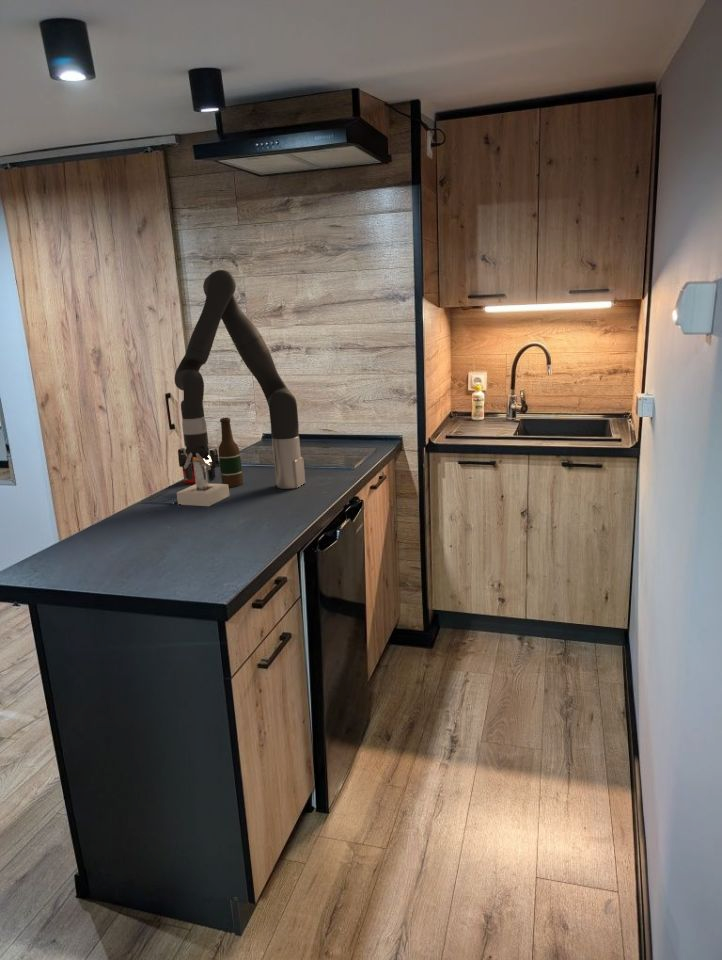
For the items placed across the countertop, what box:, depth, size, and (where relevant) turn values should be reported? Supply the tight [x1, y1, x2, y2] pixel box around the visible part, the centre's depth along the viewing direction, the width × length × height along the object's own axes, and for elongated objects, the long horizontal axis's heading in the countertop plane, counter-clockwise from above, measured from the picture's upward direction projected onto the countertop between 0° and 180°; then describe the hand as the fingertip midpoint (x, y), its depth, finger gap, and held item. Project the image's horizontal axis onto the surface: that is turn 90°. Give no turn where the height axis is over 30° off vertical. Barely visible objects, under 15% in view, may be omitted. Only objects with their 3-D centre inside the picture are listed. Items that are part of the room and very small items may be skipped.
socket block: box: [176, 482, 230, 507], centre depth 223 cm, size 12×12×4 cm
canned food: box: [181, 454, 196, 485], centre depth 247 cm, size 8×8×11 cm
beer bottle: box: [217, 417, 244, 488], centre depth 238 cm, size 8×8×24 cm
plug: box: [192, 457, 209, 491], centre depth 221 cm, size 4×4×15 cm
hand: (201, 479), depth 222 cm, fingers open, 8 cm apart
